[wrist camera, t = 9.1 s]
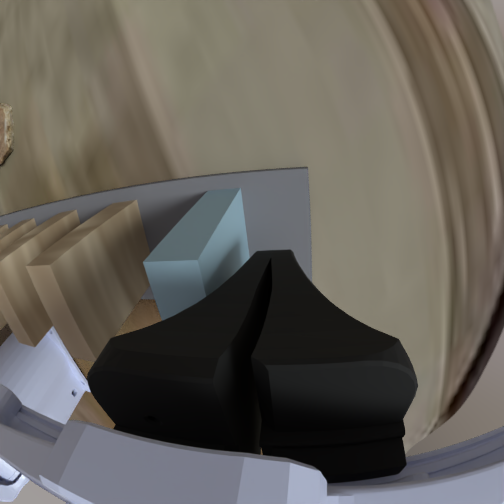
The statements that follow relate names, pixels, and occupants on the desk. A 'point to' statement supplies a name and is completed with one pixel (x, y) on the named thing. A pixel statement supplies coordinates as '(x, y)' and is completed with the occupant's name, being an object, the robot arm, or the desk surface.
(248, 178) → the felt runner
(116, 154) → the desk surface
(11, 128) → the pottery shard
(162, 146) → the desk surface
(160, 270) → the tile
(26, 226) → the tile
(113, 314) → the tile
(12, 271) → the tile
